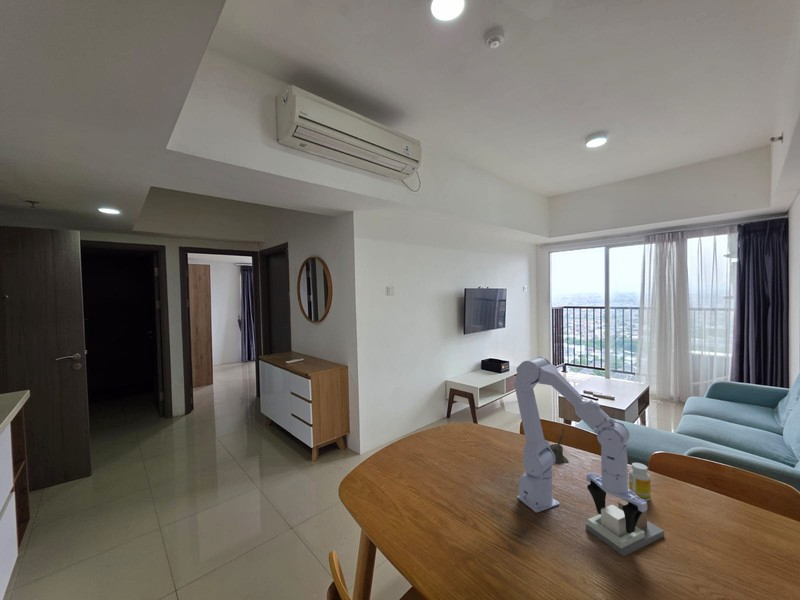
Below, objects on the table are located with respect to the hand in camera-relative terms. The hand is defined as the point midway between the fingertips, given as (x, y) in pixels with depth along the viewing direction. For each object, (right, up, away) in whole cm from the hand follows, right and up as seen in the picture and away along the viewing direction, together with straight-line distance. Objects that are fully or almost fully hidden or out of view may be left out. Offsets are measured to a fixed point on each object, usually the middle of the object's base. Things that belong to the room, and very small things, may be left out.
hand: (615, 521), depth 83 cm
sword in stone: (+4, -4, +40) cm, 41 cm away
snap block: (0, -2, 0) cm, 2 cm away
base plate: (+3, -4, +1) cm, 5 cm away
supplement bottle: (+19, -4, +16) cm, 25 cm away
